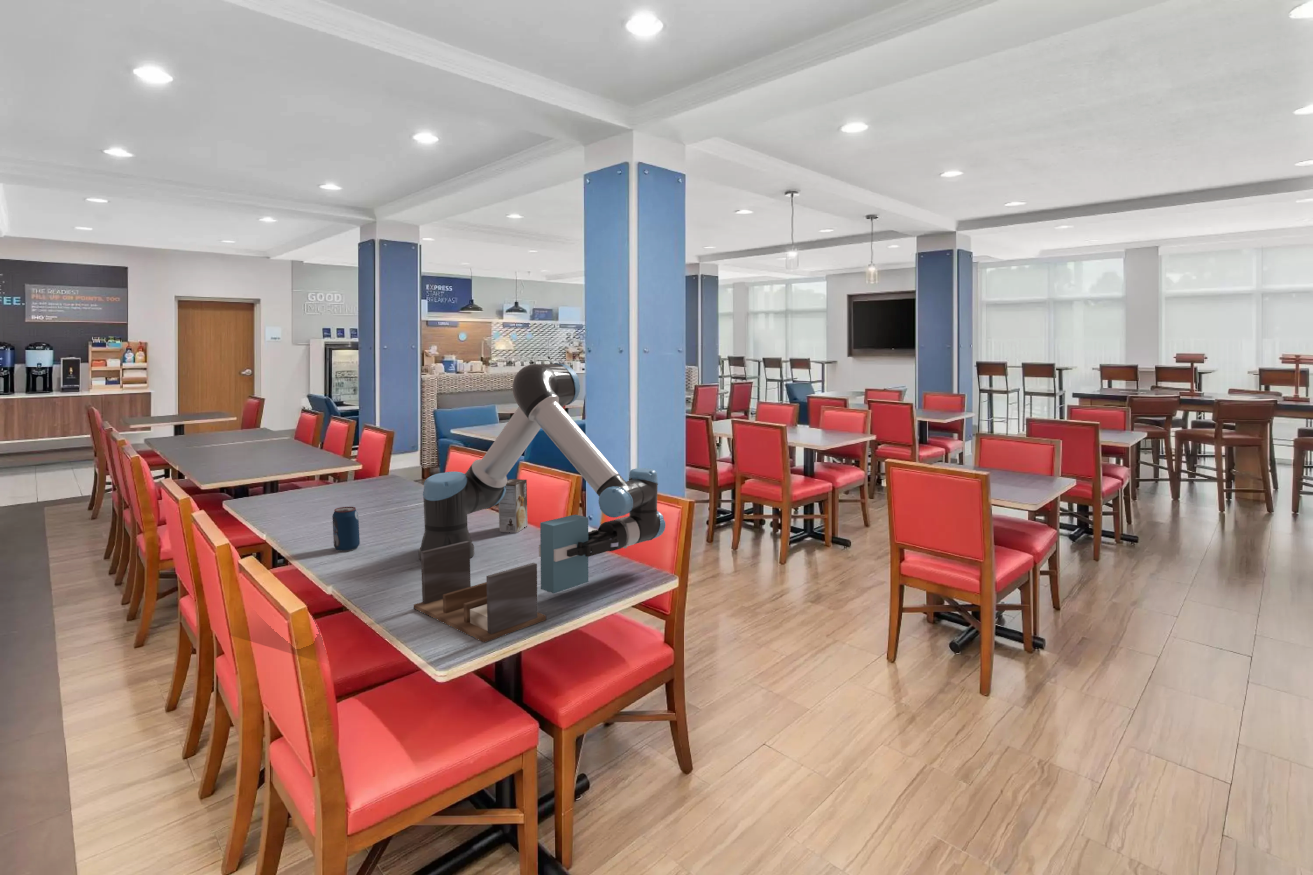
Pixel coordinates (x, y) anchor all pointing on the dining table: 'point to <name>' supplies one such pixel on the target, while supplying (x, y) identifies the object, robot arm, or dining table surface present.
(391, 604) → the dining table surface
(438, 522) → the robot arm
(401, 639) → the dining table surface
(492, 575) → the book rack
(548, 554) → the book
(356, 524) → the soda can
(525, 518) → the coffee box
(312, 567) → the dining table surface
